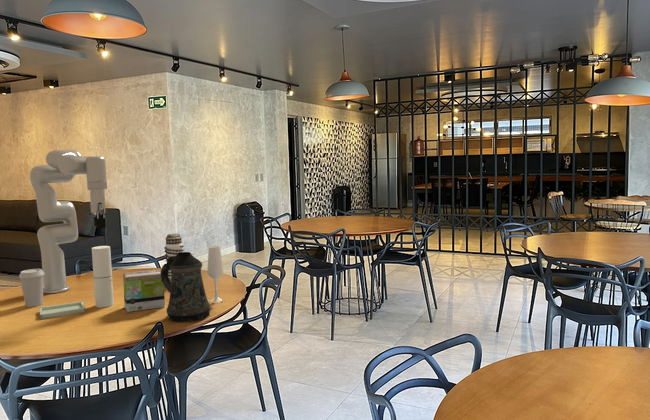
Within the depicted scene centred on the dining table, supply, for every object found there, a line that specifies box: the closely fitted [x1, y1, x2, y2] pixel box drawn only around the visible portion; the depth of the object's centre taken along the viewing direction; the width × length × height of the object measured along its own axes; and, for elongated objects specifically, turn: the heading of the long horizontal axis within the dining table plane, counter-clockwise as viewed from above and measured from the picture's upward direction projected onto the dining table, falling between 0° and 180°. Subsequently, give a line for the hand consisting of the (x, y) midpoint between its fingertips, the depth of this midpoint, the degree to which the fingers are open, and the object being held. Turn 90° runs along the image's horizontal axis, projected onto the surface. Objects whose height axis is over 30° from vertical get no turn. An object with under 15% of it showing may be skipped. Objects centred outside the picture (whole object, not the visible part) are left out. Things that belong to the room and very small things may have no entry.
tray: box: [39, 300, 86, 320], centre depth 204 cm, size 12×16×2 cm
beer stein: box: [160, 251, 211, 323], centre depth 194 cm, size 16×19×25 cm
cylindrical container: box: [91, 245, 115, 309], centre depth 212 cm, size 7×7×25 cm
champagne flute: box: [206, 245, 224, 302], centre depth 214 cm, size 7×7×24 cm
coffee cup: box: [18, 268, 44, 308], centre depth 215 cm, size 10×10×15 cm
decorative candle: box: [164, 233, 185, 281], centre depth 247 cm, size 9×9×25 cm
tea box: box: [122, 269, 166, 313], centre depth 208 cm, size 15×10×15 cm, turn 117°
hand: (100, 226), depth 210 cm, fingers open, 9 cm apart
